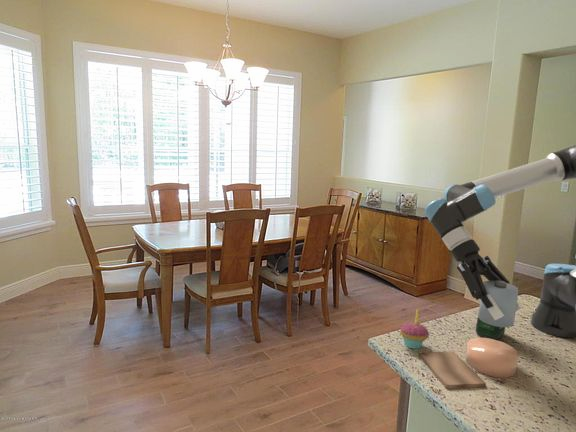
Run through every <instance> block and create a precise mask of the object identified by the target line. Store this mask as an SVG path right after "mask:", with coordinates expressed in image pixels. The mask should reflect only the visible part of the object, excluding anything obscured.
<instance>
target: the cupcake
mask: <svg viewBox="0 0 576 432" xmlns="http://www.w3.org/2000/svg"><path fill="white" fill-rule="evenodd" d="M419 312H420V311H419V307H417V309H416V310H415V321H412V322H405V323H404V324H402V325H401V326H400V331H399V332H400V333H399V334H400V336H401V337H403V341H404V345H405V346H406V347H407V348H410V349H412V350H417V349H420V348H422V345H423V343H424V341H426V340H427V339H429V337H430V333H429V329H427V327H426V326H425V325H423V324H421V323H418V318H419Z"/></svg>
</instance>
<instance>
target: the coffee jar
mask: <svg viewBox="0 0 576 432" xmlns="http://www.w3.org/2000/svg"><path fill="white" fill-rule="evenodd" d="M478 314H479V312H478ZM505 330H506V327H497V326H493V325H489V324H487V323H484V322H483V321H481V320H480V319H479V318H478V317H477V320H476V323H475V332H476V334H478V335H480V336H481V337H482V338H489V339H494V340H498V339H500V338H502V337H503V336H504V335H505V333H506V331H505Z"/></svg>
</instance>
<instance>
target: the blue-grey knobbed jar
mask: <svg viewBox="0 0 576 432" xmlns="http://www.w3.org/2000/svg"><path fill="white" fill-rule="evenodd" d="M483 284H484V287H485V290H486V293H487V295H488V294H490V295H491V297H492V298H493V300H494V301H495V303H496V304H497V306H498V307H499V309H500V310H501V311H502V313H503V314H504V316H503V317H501V318H499V319H497V320H494V318H493V317H492V315H491V314H490V312H489V311H488V309H487V308H486V307H485V305H484V304H483V302H482V301H481V299H479V308H478V313H479V314H478V315H477V319H478V318H479V319H480V320H481V321H483V322H484V323H487V324H489V325H493V326H497V327H505V328H511V327H513V326H514V324H515V319H516V318H515V317H516V312H517V311H516V305H517V302H518V298H519V297H518V296H519V287H517V286H516V285H513V284H511V283H510V284H508V283H506V282H504V281H499V280H496V281H489V280H486V281H483Z"/></svg>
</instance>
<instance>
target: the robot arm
mask: <svg viewBox="0 0 576 432" xmlns="http://www.w3.org/2000/svg"><path fill="white" fill-rule="evenodd" d="M571 179H573V180H575V179H576V144H574V145H572V146H568V147H566V148H562V149H560V150H557V151H554V152H551V153H549V154H547V155H546V156H545V158H542V159H539V160H536V161H533V162H530V163H527V164H522V165H520V166H517V167H514V168H511V169H507V170H504V171H501V172H500V171H499V172H498V173H495V174H492V175H489V176H484V177H481V178H479V179H475V180H472V181H469V182H466V183H463V184H452V185H449V186H448V187H446V189H445V190H444V194H443V197H440V198H438V199H435V200H433V201H431V202H430V203H429V204H427V205H426V206H425V208H424V214H425V216H426V217H427V219H428V220H429V223H430V224H431V226H432V227H433V228H434V230H435V231H436V233H437V234H438V235H439V237H440V238H441V240H442V241H443V243H444V245H445V247H447V248H446V249H448V250H449V251H450V254H451V255H452V257H453V258H454V260H455V261H456V262H457V263H460V264H459V265H457V266H456V269H457V270H458V271H459V273H460V274H461V277H462V278H463V281H464V283H465V285H466V287H467V289H468V291H469V293H470V295H471V296H472V298H475V300H476V301H478V300H480V299H481V301H482V302H483V304H484V305H485V307H486V308H487V309H488V311H489V312H490V314H491V315H492V317H493V318H494V320H497V319H499V318H501V317H503V316H504V314H503V313H502V311H501V310H500V309H499V307H498V306H497V304H496V303H495V301H494V300H493V298H492V297H491V295H490V294H488V295H487V293H486V290H485V287H484V284H483V282H484V280H483V279H482V276H483V277H484V278H485V279H487V281H496V280H499V281H504V282H506V283H508V284H511V283H510V281H509V280H508V279H507V278H506V276H505V275H504V274H503V272H501V270H499V268H497V266H496V265H495V263H493V262H492V260H491V258H490V257H489V255H485V256H484V257H483V256H481V255H480V254H479V252H480V251H481V249H480V246H479V245H478V244H477V242H476V241H475V240H474V239H472V238H473V237H472V235H471V234H470V233H469V231H468V229H467V228H466V227H465V225H464V223H465V222H466V221H467V220H469V219H471V218H474V217H475V216H477V215H480V214H482V213H484V212H485V211H488V210H489V209H490V208H492V207H494V206H495V205H496V201H497V200H496V198H498V197H502V196H505V195H508V194H512V193H515V192H518V191H522V190H524V189H529V188H531V187H535V186H538V185H541V184H544V183H548V182H551V181H555V182H562V181H566V180H571ZM463 222H464V223H463ZM539 299H540V300H539V303H538V305H537V307H536V309H535V310H534V313H532V314H531V317H530V324H531V325H532V326H533V327H534V328H536V329H537V330H539V331H542V332H543V333H546V334H549V335H552V336H556V337H560V338H568V339H571V338H572V339H573V338H576V265H574V264H566V263H549V264H547V265H545V269H544V272H543V281H542V286H541V292H540V297H539ZM521 309H522V306H521V305H520V303H519V302H518V301H517V305H516V312H517V311H519V310H521Z"/></svg>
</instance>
